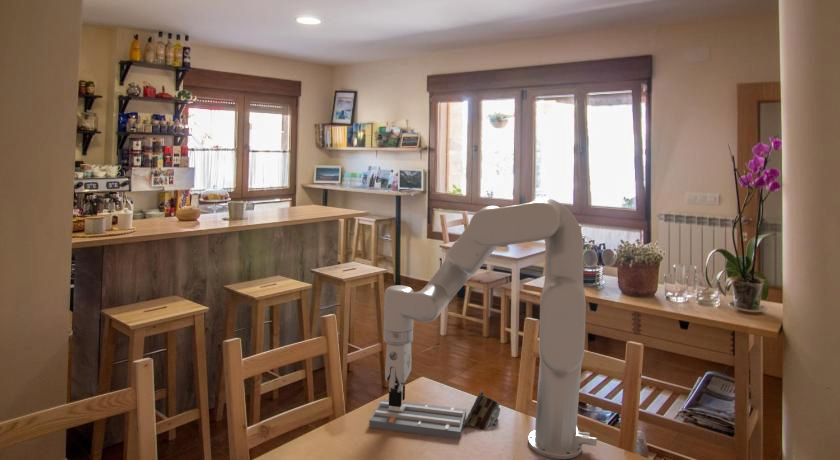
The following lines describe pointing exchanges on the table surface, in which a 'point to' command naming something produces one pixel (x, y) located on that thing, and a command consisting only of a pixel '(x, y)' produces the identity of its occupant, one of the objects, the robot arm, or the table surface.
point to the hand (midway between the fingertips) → (396, 401)
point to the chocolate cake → (483, 412)
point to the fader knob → (398, 409)
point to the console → (420, 419)
